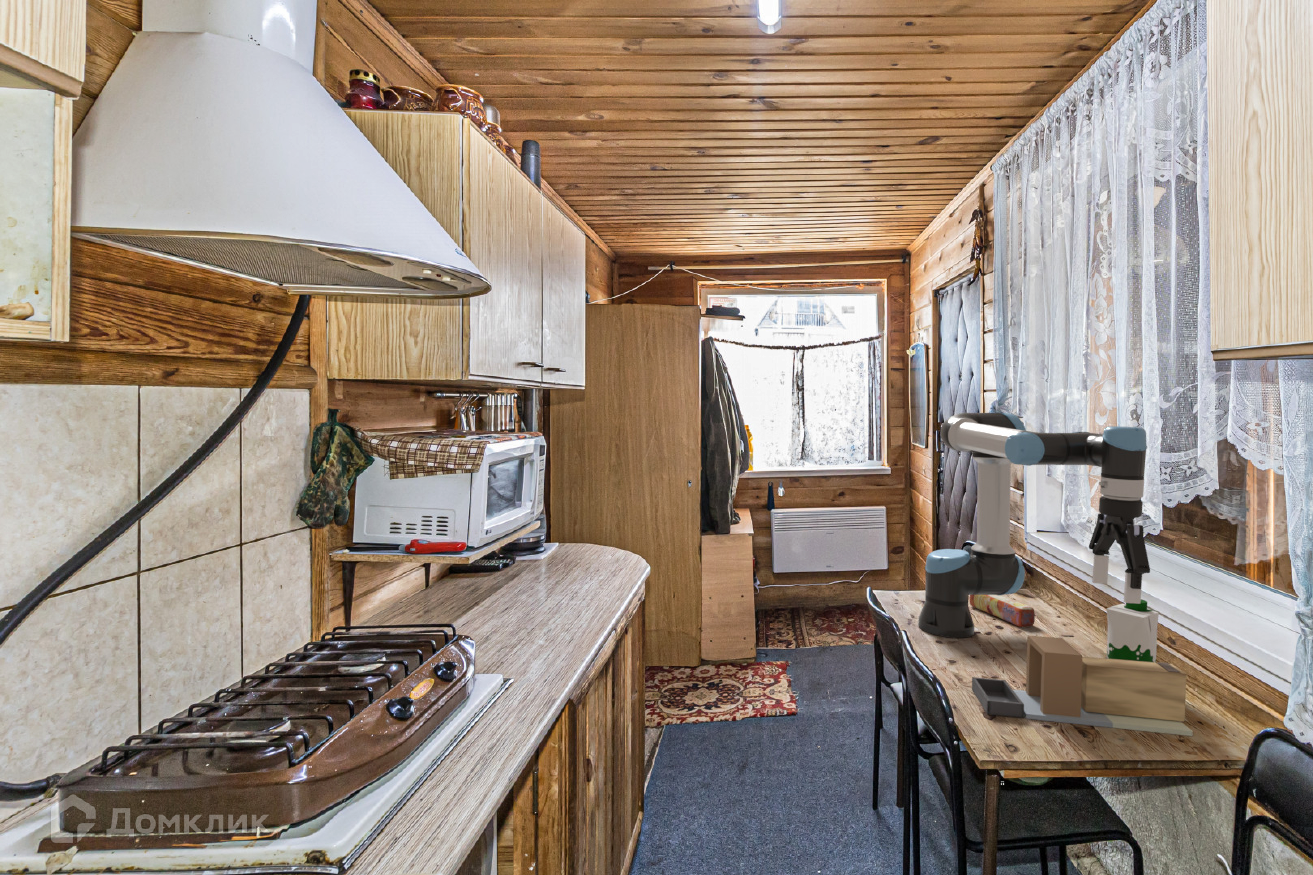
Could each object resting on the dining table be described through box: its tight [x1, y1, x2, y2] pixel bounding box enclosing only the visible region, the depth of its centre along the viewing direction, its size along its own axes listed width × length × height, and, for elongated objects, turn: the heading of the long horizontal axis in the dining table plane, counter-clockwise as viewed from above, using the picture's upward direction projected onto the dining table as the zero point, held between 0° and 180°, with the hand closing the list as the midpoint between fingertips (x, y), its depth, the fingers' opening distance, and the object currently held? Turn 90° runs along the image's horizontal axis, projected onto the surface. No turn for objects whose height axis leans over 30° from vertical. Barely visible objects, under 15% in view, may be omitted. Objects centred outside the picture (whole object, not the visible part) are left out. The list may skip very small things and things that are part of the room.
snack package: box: [969, 595, 1036, 628], centre depth 194 cm, size 21×7×7 cm, turn 13°
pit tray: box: [971, 676, 1025, 719], centre depth 136 cm, size 12×7×3 cm, turn 167°
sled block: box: [1081, 655, 1187, 722], centre depth 130 cm, size 5×18×10 cm, turn 77°
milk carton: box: [1106, 599, 1159, 663], centre depth 145 cm, size 9×9×20 cm
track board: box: [1012, 634, 1194, 737], centre depth 131 cm, size 12×30×14 cm, turn 77°
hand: (1115, 592), depth 135 cm, fingers open, 13 cm apart
